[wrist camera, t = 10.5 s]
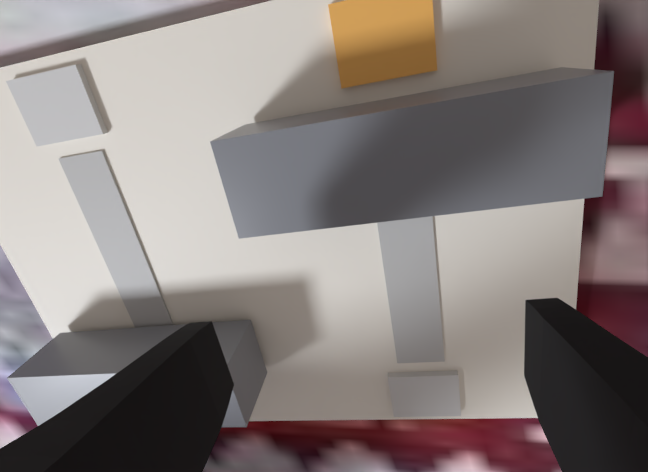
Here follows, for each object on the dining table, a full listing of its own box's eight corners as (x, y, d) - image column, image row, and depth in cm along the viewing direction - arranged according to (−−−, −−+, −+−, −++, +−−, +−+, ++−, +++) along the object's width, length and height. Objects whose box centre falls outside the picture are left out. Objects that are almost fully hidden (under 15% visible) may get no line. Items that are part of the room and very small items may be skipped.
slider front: (557, 166, 13) (602, 196, 10) (266, 205, 15) (238, 238, 12) (561, 66, 12) (614, 71, 9) (245, 124, 14) (210, 141, 11)
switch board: (559, 399, 18) (570, 423, 17) (111, 408, 23) (96, 427, 22) (587, -72, 11) (611, -86, 10) (-61, 87, 16) (-96, 89, 15)
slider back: (267, 372, 18) (246, 427, 16) (85, 379, 20) (40, 428, 18) (250, 319, 17) (225, 368, 15) (60, 332, 19) (6, 378, 17)
